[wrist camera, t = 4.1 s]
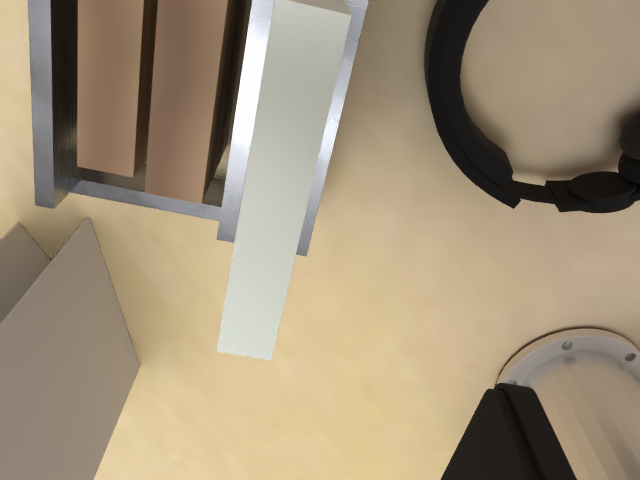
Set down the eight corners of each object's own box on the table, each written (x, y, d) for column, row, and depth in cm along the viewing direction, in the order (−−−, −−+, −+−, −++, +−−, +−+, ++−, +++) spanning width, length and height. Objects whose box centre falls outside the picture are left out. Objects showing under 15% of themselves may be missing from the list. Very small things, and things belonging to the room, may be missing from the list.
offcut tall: (254, -51, 31) (233, -45, 23) (226, 146, 37) (201, 204, 29) (201, -64, 31) (162, -62, 23) (181, 136, 37) (144, 192, 29)
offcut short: (184, -69, 31) (147, -68, 24) (166, 133, 37) (133, 177, 30) (130, -82, 31) (78, -86, 24) (121, 124, 36) (77, 166, 30)
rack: (376, -94, 30) (393, -101, 23) (305, 210, 39) (302, 270, 32) (93, -168, 29) (20, -200, 22) (88, 167, 38) (35, 220, 31)
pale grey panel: (333, -32, 32) (351, 15, 14) (293, 160, 37) (271, 360, 20) (299, -40, 31) (275, -3, 14) (264, 154, 37) (216, 351, 20)
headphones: (796, 223, 31) (432, 239, 34) (723, 170, 37) (425, 187, 41) (930, -166, 22) (426, -98, 25) (804, -143, 29) (419, -93, 32)
